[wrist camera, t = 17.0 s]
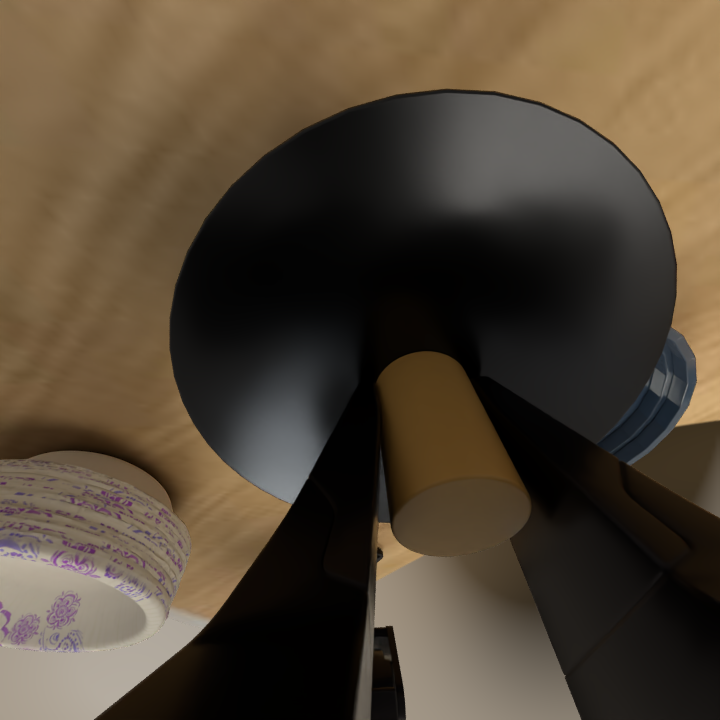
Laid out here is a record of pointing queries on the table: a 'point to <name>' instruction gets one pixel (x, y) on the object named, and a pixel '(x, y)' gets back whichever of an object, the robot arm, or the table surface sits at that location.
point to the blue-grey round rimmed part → (655, 403)
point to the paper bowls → (85, 553)
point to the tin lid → (423, 300)
